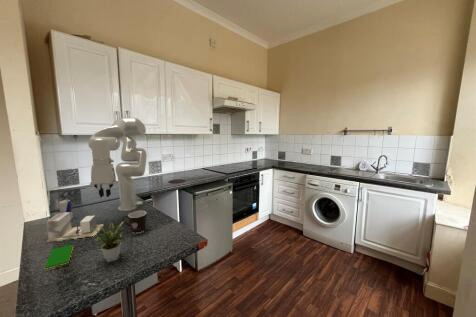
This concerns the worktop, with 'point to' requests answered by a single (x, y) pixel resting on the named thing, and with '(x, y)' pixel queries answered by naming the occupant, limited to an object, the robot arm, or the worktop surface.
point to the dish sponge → (59, 256)
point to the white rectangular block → (88, 224)
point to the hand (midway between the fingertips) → (105, 196)
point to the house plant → (110, 241)
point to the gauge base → (73, 232)
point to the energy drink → (66, 207)
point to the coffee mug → (137, 221)
